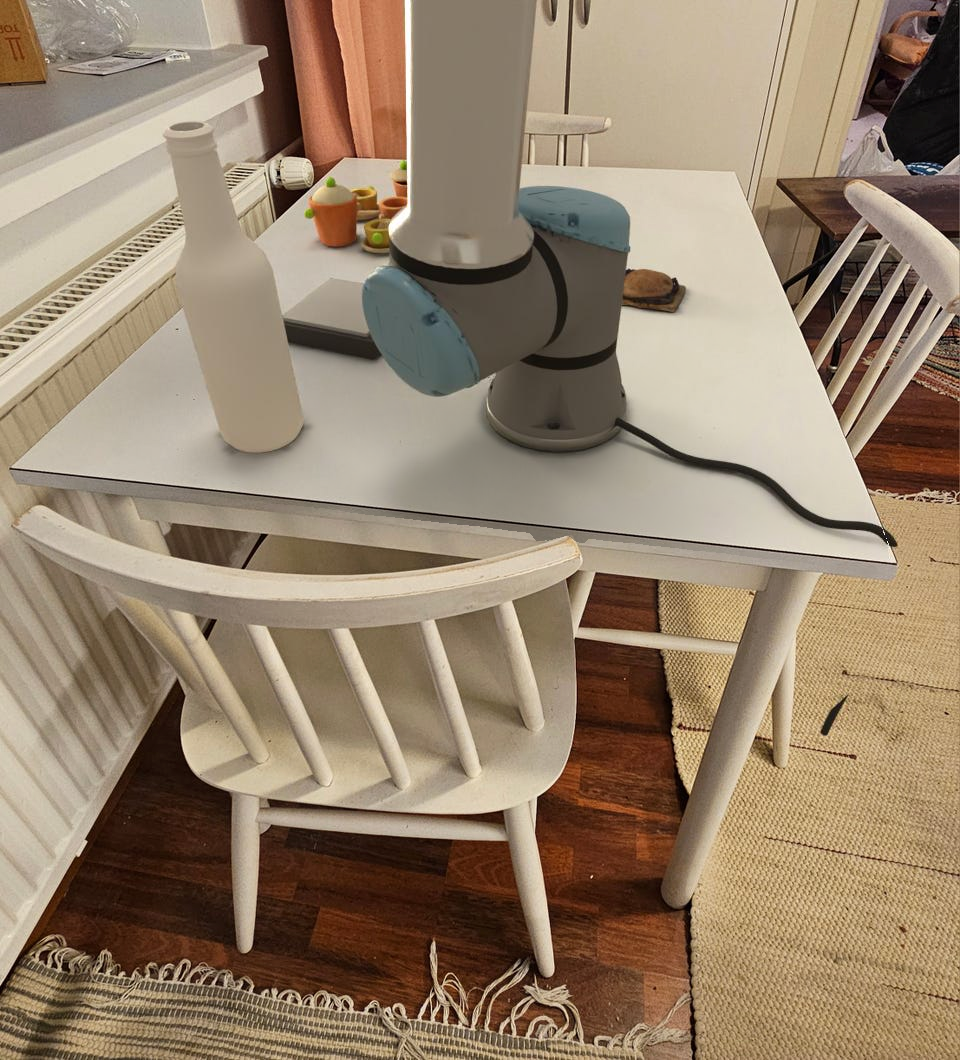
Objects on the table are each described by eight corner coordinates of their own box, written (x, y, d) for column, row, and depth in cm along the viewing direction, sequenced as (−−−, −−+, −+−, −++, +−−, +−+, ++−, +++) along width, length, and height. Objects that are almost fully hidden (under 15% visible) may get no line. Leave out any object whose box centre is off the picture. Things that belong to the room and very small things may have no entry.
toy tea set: (399, 260, 114) (393, 194, 108) (303, 253, 117) (292, 189, 110) (440, 201, 133) (437, 142, 127) (357, 196, 136) (350, 138, 129)
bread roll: (687, 290, 106) (692, 264, 103) (673, 315, 100) (678, 289, 97) (614, 278, 109) (617, 252, 106) (596, 301, 103) (599, 275, 101)
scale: (425, 311, 102) (423, 290, 100) (376, 360, 92) (373, 338, 90) (334, 295, 106) (331, 274, 104) (278, 340, 96) (274, 319, 94)
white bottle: (228, 463, 77) (132, 147, 57) (217, 419, 83) (127, 119, 63) (313, 444, 79) (250, 134, 59) (296, 402, 85) (234, 107, 65)
